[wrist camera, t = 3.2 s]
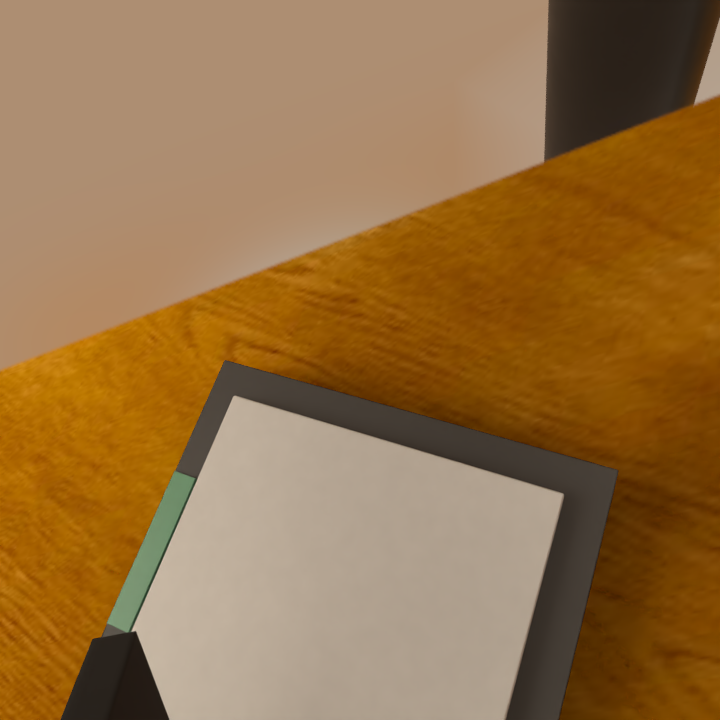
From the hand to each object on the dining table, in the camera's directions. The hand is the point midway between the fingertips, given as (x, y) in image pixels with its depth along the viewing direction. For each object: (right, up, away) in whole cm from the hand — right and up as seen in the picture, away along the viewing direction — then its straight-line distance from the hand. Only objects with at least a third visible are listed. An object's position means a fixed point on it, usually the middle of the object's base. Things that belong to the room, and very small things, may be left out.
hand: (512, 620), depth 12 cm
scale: (-3, -5, +14) cm, 15 cm away
